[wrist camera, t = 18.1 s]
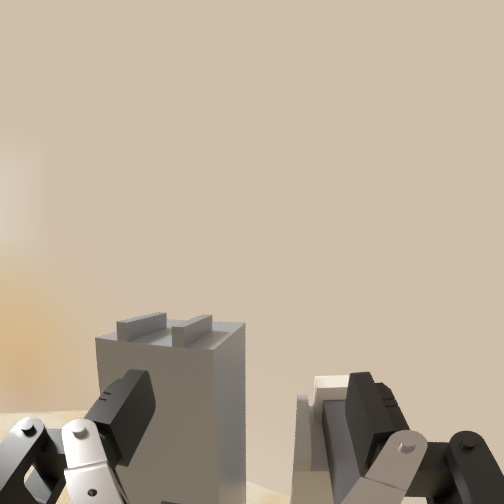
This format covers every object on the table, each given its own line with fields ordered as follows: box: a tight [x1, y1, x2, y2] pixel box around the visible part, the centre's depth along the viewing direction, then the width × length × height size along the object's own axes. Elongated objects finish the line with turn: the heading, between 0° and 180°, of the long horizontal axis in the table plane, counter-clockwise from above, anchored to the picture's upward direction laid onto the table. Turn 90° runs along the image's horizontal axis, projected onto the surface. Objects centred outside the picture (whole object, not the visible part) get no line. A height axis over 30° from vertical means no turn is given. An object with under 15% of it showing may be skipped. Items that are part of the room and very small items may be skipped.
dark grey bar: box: [313, 375, 360, 504], centre depth 22 cm, size 22×4×4 cm, turn 172°
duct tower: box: [95, 312, 246, 504], centre depth 28 cm, size 14×10×34 cm
